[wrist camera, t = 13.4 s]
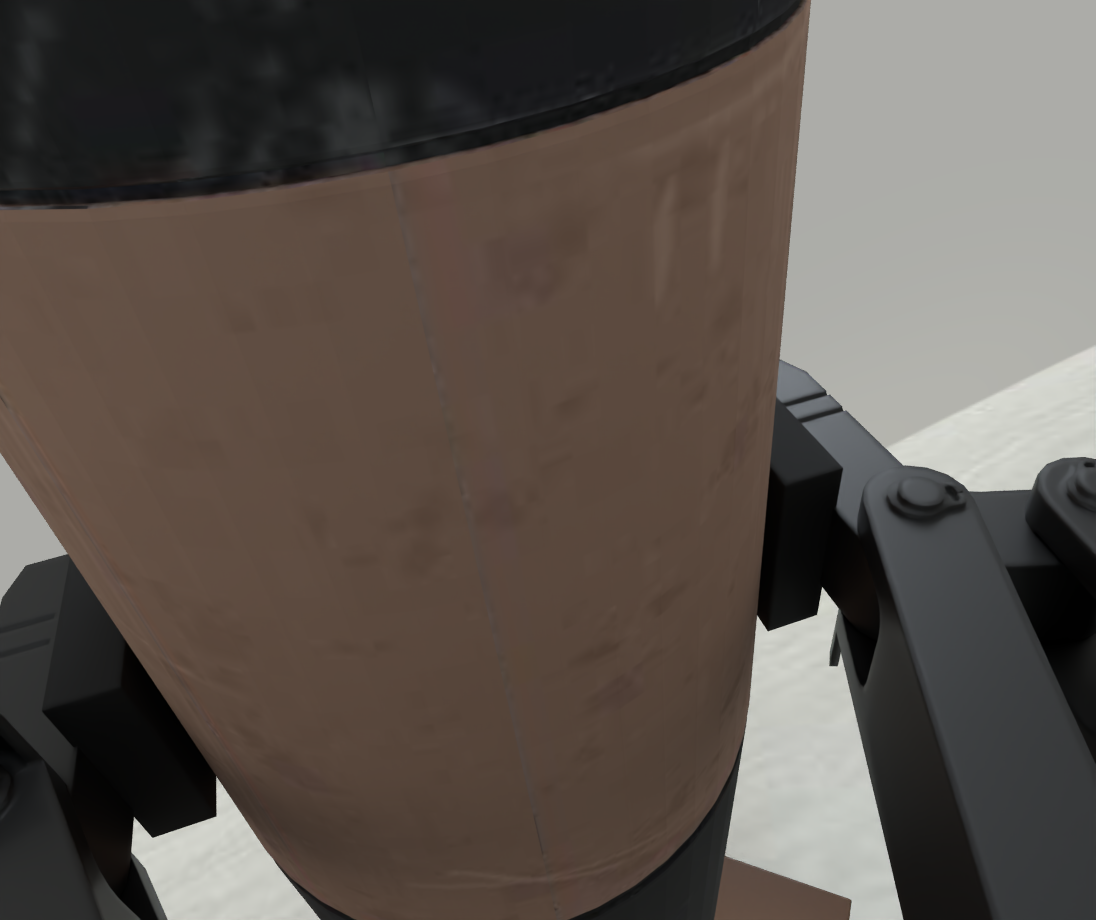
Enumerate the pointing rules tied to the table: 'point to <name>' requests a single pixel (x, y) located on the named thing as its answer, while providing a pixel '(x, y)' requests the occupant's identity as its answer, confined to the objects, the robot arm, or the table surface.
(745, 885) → the walnut shelf
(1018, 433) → the table surface
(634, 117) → the travel mug
